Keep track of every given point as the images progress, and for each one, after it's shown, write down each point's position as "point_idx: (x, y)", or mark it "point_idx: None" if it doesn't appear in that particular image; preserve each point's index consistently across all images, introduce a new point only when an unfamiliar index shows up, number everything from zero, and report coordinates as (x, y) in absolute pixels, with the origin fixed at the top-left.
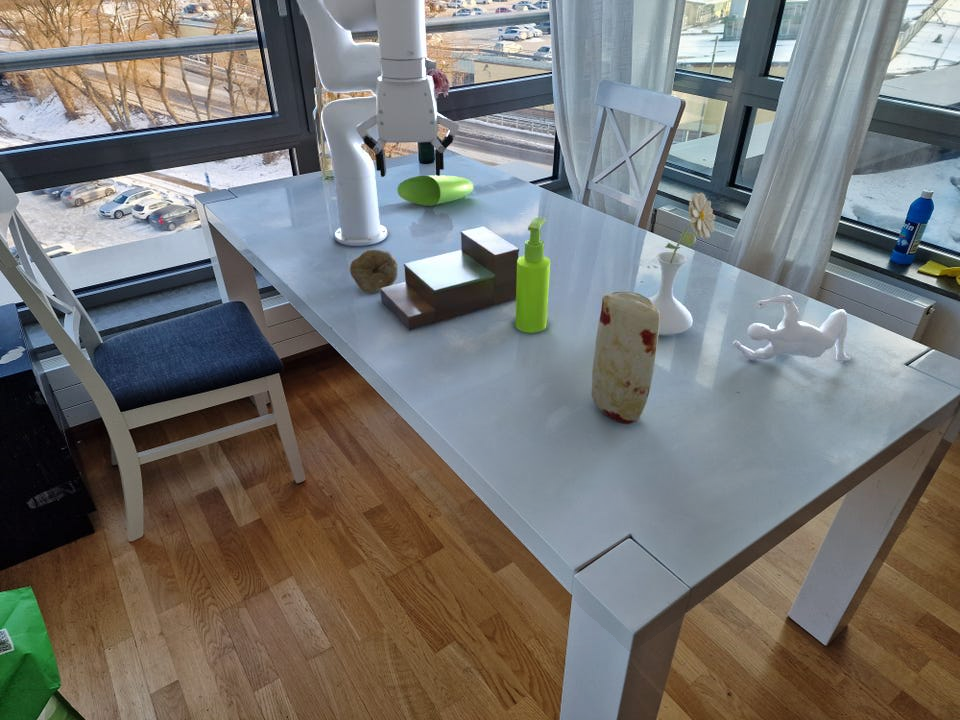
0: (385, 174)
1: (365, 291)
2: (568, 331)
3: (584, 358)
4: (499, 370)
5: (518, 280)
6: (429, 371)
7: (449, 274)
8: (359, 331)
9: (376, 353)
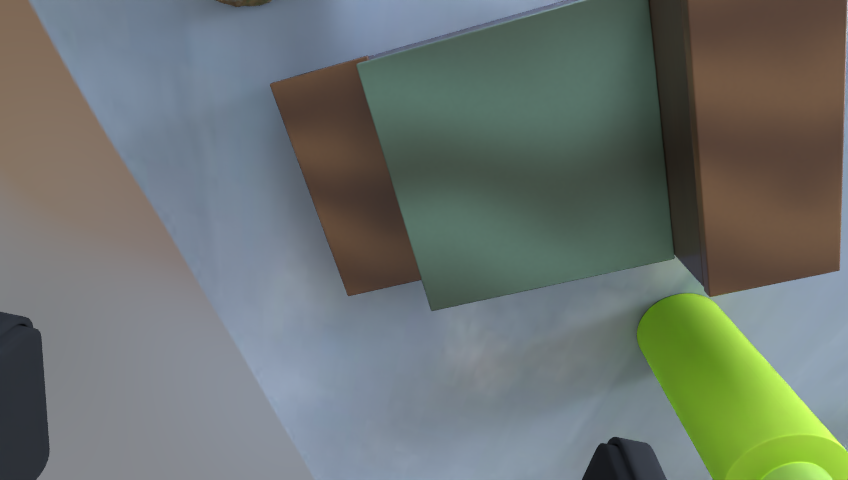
0: (46, 412)
1: (226, 3)
2: None
3: None
4: (521, 464)
5: (695, 438)
6: (376, 432)
7: (514, 216)
8: (218, 238)
9: (263, 344)
